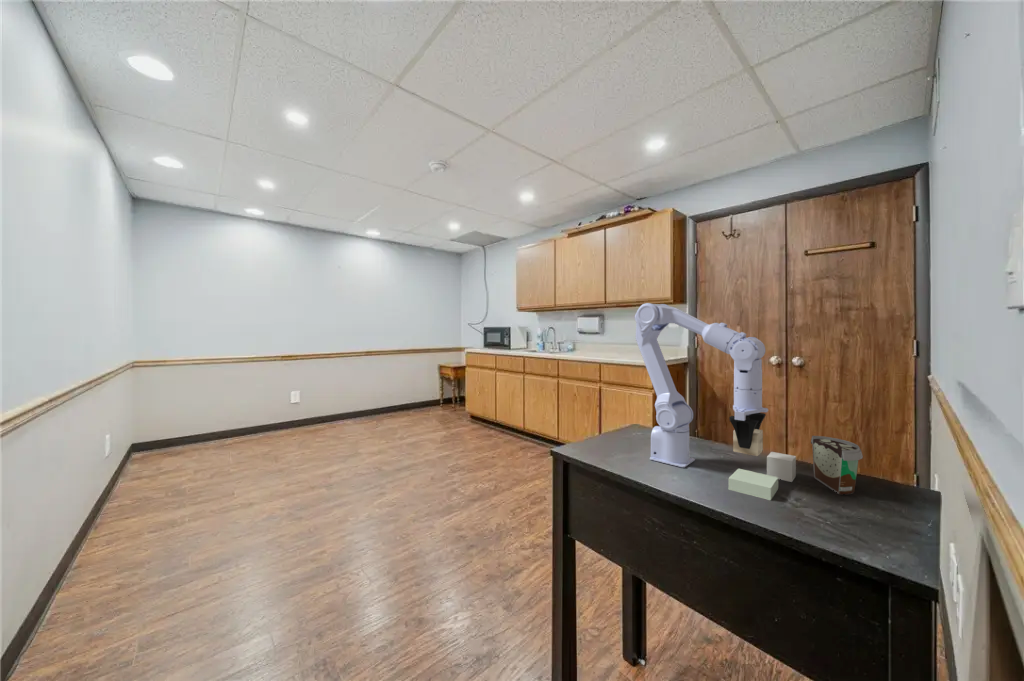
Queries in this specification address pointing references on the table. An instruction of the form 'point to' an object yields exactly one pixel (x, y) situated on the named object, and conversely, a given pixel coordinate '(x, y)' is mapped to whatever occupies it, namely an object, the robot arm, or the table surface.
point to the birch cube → (755, 445)
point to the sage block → (753, 484)
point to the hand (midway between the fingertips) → (747, 445)
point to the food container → (836, 463)
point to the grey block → (781, 466)
